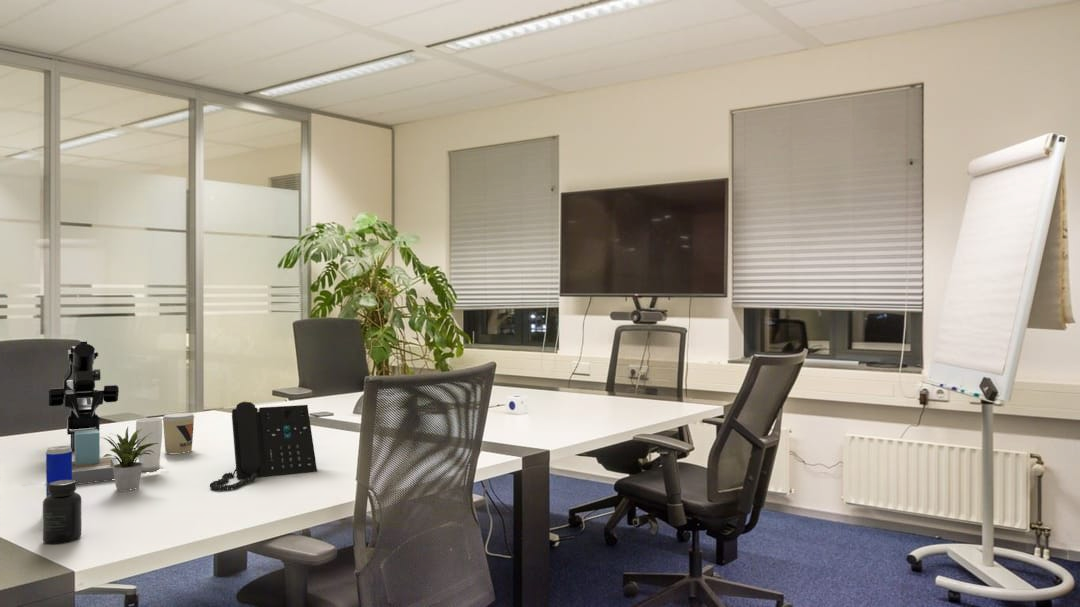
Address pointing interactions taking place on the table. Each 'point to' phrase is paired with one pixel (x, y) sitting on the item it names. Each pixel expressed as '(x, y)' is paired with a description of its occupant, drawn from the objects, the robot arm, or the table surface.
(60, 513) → the supplement bottle
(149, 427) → the white tall tapered cylinder
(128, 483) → the house plant
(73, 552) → the table surface
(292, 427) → the office phone
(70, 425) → the robot arm
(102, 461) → the board
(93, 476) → the box
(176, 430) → the coffee cup
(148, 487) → the table surface
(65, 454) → the beverage can
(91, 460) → the block
